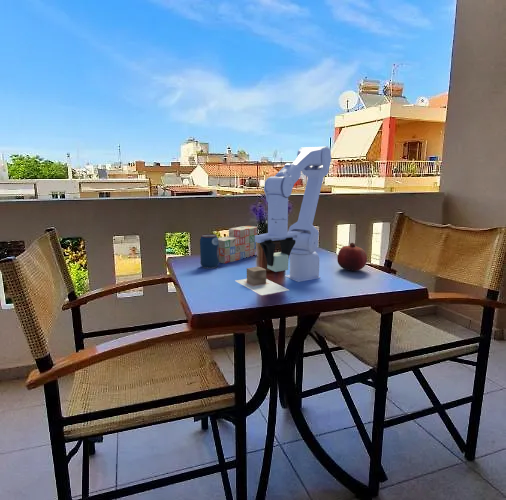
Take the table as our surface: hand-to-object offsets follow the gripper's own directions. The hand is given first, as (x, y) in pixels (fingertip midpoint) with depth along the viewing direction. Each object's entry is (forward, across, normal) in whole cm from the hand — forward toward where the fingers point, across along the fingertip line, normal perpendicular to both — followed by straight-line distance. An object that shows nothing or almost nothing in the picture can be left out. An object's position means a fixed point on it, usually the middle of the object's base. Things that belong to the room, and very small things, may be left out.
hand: (277, 264), depth 111 cm
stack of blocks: (+9, -9, -44) cm, 46 cm away
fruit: (+9, -36, -6) cm, 37 cm away
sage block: (+2, 0, 0) cm, 2 cm away
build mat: (+8, +2, -6) cm, 10 cm away
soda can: (+8, +6, -37) cm, 38 cm away
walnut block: (+8, +2, -9) cm, 12 cm away
